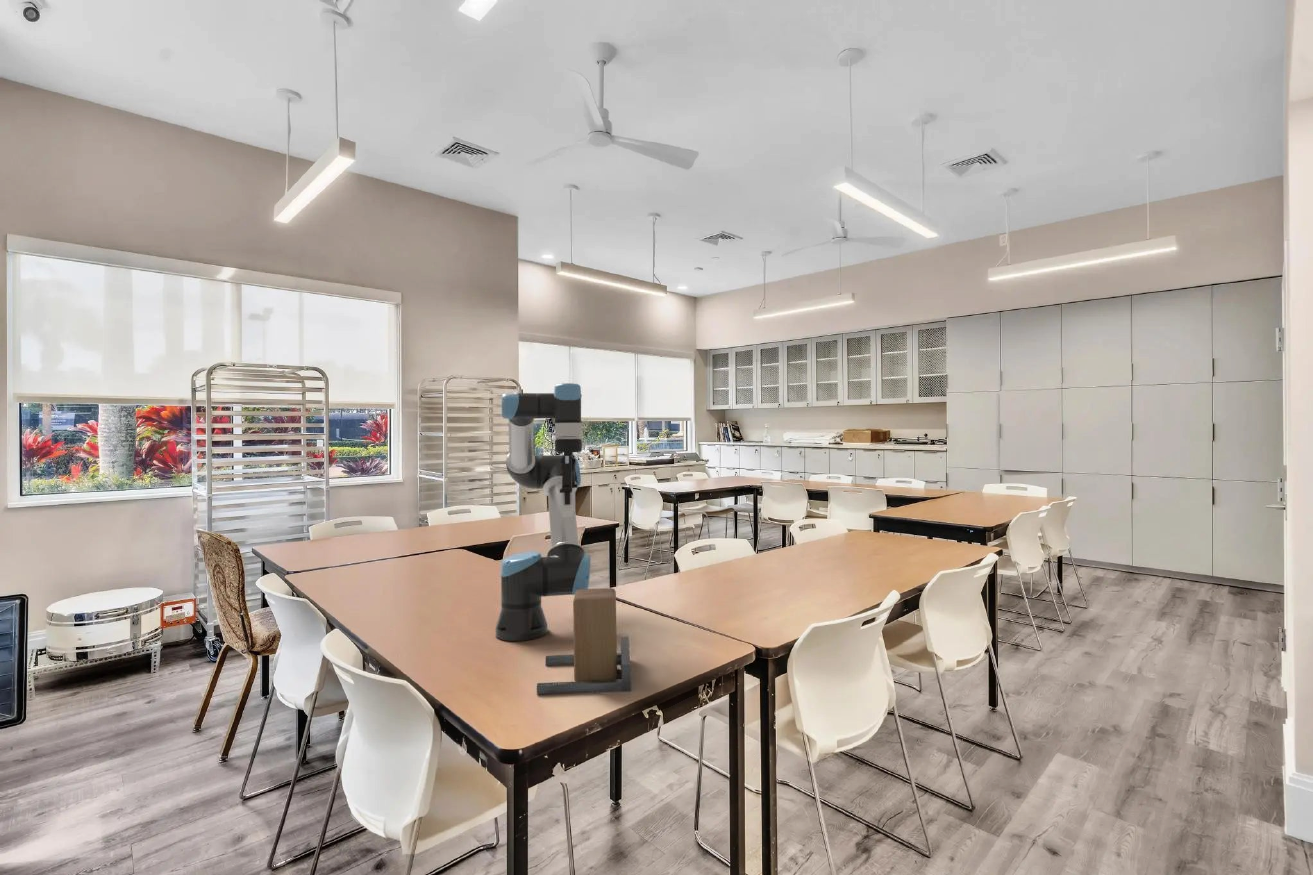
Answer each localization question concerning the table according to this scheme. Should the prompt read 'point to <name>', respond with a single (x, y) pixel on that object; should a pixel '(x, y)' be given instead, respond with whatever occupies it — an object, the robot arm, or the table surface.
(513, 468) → the robot arm
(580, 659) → the wooden block
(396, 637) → the table surface
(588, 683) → the end stop channel
